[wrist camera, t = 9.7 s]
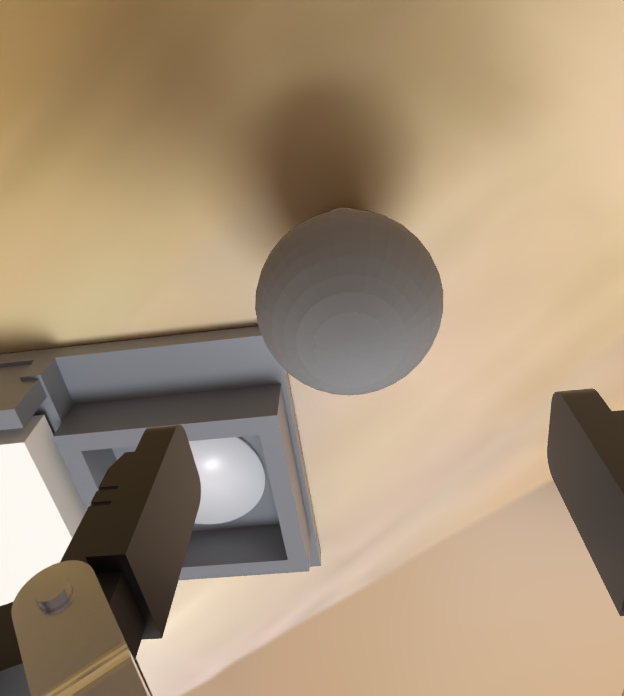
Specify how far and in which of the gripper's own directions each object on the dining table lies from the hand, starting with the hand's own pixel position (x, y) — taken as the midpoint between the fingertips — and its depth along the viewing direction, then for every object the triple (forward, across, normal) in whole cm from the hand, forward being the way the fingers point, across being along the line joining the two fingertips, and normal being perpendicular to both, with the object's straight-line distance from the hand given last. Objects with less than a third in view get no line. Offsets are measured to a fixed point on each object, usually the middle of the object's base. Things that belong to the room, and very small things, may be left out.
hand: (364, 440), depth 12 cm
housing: (+14, +14, +12) cm, 23 cm away
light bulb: (+14, 0, 0) cm, 14 cm away
